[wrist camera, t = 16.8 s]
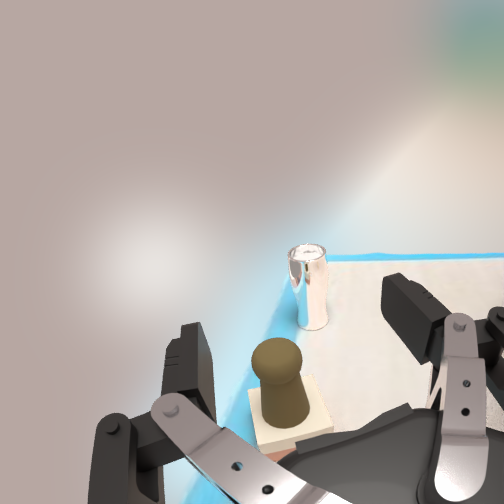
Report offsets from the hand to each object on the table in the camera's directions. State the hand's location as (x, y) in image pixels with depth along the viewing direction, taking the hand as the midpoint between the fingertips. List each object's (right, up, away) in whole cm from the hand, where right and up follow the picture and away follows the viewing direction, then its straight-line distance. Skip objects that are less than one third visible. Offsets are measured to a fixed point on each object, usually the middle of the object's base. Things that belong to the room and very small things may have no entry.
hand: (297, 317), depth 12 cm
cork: (+2, -17, +21) cm, 27 cm away
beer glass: (+10, -11, +45) cm, 47 cm away
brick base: (+4, -22, +23) cm, 32 cm away
